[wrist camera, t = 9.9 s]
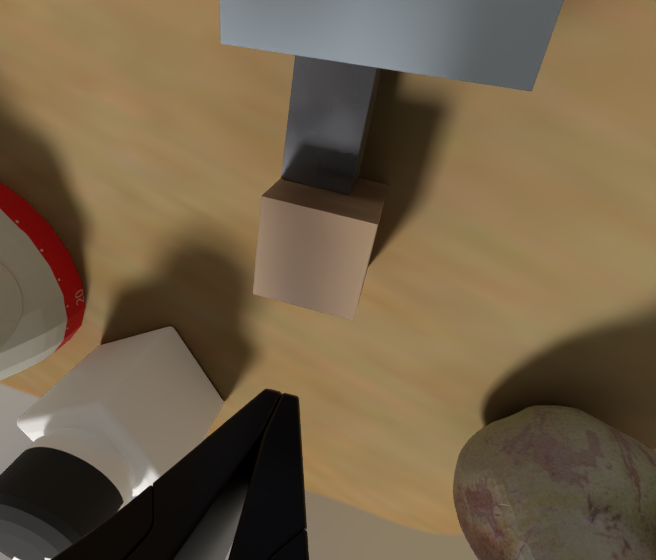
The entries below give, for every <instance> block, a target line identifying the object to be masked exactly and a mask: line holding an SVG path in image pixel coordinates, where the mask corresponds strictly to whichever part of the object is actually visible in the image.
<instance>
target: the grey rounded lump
mask: <svg viewBox="0 0 656 560" xmlns="http://www.w3.org/2000/svg"><path fill="white" fill-rule="evenodd" d="M453 497H454V504H455V508H456V512H457V516H458V520H459V523H460V526H461V528H462V531H463V533H464V535H465V537H466V539H467V541H468V543H469V544H470V546H471V548H472V550H473V551H474V553H475V555H476V556H477V558H478V560H656V453H655V452H654V451H653V450H651V449H650V448H648V447H647V446H646V445H644V444H643V443H641V442H639V441H638V440H636V439H634V438H632V437H630V436H628V435H626V434H625V433H623V432H621V431H619V430H617V429H615V428H614V427H612V426H610V425H608V424H606V423H604V422H603V421H601V420H599V419H598V418H596V417H594V416H592V415H589V414H587V413H585V412H583V411H582V410H579V409H577V408H572V407H565V406H555V405H534V406H530V407H527V408H525V409H523V410H521V411H520V412H518V413H516V414H513V415H511V416H509V417H506V418H503V419H500V420H497V421H494V422H492V423H490V424H488V425H487V426H485V427H484V428H482V429H481V430H479V431H478V432H477V433H476V434H474V435H473V436H472V437H471V438H470V439H469V440H468V442H467V443H466V444H465V446H464V447H463V448H462V450H461V452H460V454H459V457H458V461H457V465H456V469H455V475H454V483H453Z"/></svg>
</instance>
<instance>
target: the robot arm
mask: <svg viewBox="0 0 656 560" xmlns="http://www.w3.org/2000/svg"><path fill="white" fill-rule="evenodd" d="M306 529H307V523H306V508H305V490H304V474H303V457H302V440H301V424H300V407H299V398H298V396H295V395H291V394H287V393H283V394H282V393H281V392H279V391H276V390H272V389H265V390H263V391H262V392H261V393H260V394H259V395H257V396H256V397H255V398H254V399H253V400H251V401H250V402H249V403H248V404H247V405H245V406H244V407H243V408H242V409H241V410H239V411H238V412H237V413H236V414H235V415H233V416H232V417H231V418H230V419H229V420H227V421H226V422H225V423H224V424H223V425H222V426H220V427H219V428H218V429H217V430H216V431H214V432H213V433H212V434H211V435H210V436H208V437H207V438H206V439H205V440H204V441H202V442H201V443H200V444H199V445H198V446H196V447H195V448H194V449H193V450H192V451H190V452H189V453H188V454H187V455H186V456H185V457H183V458H182V459H181V460H180V461H179V462H177V463H176V464H175V465H174V466H173V467H171V468H170V469H169V470H168V471H167V472H165V473H164V474H163V475H162V476H161V477H159V478H158V479H157V480H156V481H155V482H154V483H153V486H152V485H150V486H148V487H147V488H146V489H145V490H144V491H142V492H141V493H140V494H139V495H138V496H137V497H135V498H134V499H133V500H132V501H131V502H129V503H128V504H127V505H125V506H124V507H123V508H122V509H120V510H119V511H118V512H117V513H115V514H114V515H113V516H111V517H110V518H109V519H107V520H106V521H105V522H103V523H102V524H100V525H99V526H98V527H96V528H95V529H93V530H92V531H91V532H89V533H88V534H87V535H85V536H84V537H82V538H81V539H79V540H78V541H77V542H75V543H74V544H72V545H71V546H69V547H68V548H66V549H65V550H64V551H62V552H61V553H59V554H58V555H56V556H55V557H53V558H52V559H51V560H225V558H226V555H227V553H228V551H229V549H230V547H231V544H232V542H233V545H232V548H231V552H230V555H229V559H228V560H309V553H308V537H307V531H306ZM233 540H234V541H233Z"/></svg>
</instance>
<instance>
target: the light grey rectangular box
mask: <svg viewBox="0 0 656 560" xmlns="http://www.w3.org/2000/svg"><path fill="white" fill-rule="evenodd" d="M223 404H224V402H223V400H222V398H221V397H220V395H219V394H218V392H217V391H216V389H215V388H214V386H213V385H212V383H211V382H210V381H209V379H208V378H207V376H206V375H205V373H204V372H203V370H202V369H201V367H200V366H199V364H198V363H197V361H196V360H195V358H194V357H193V355H192V354H191V352H190V351H189V349H188V348H187V346H186V345H185V343H184V342H183V340H182V339H181V337H180V336H179V335H178V333H177V332H176V330H175V329H174V328H173V327H165V328H161V329H158V330H154V331H150V332H147V333H143V334H139V335H136V336H132V337H128V338H125V339H121V340H117V341H114V342H110V343H106V344H103V345H99V346H97V347H96V348H95V349H94V350H93V351H92V352H91V353H90V354H89V355H87V356H86V357H85V358H84V359H83V360H82V361H81V362H80V363H79V364H78V365H76V366H75V367H74V368H73V369H72V370H71V371H70V372H69V373H68V374H67V375H66V376H64V377H63V378H62V379H61V380H60V381H59V382H58V383H57V384H56V385H55V386H53V387H52V388H51V389H50V390H49V391H48V392H47V393H46V394H45V395H44V396H43V397H41V398H40V399H39V400H38V401H37V402H36V403H35V404H34V405H33V406H32V407H30V408H29V409H28V410H27V411H26V412H25V413H24V414H23V415H22V416H21V417H20V418H19V419H18V420H17V425H18V427H20V429H21V430H22V431H23V432H24V433H25V434H26V435H27V436H28V437H29V438H30V439H31V440H32V441H33V443H32V444H31V445H30V446H29V447H28V448H27V449H26V450H25V451H24V452H23V453H22V454H21V455H20V456H19V457H18V458H17V459H16V460H15V461H14V462H13V463H12V464H11V465H10V466H9V467H8V468H7V469H6V470H5V471H4V472H3V473H2V474H1V475H0V552H2V553H3V554H5V555H6V556H8V557H9V558H11V559H13V560H51V559H52V558H53V557H55V556H56V555H58V554H59V553H61V552H62V551H64V550H65V549H66V548H68V547H69V546H71V545H72V544H74V543H75V542H77V541H78V540H79V539H81V538H82V537H84V536H85V535H87V534H88V533H89V532H91V531H92V530H93V529H95V528H96V527H98V526H99V525H100V524H102V523H103V522H105V521H106V520H107V519H109V518H110V517H111V516H113V515H114V514H115V513H117V512H118V511H119V510H120V509H122V508H123V507H124V506H125V505H127V504H128V503H129V502H130V500H131V498H132V496H138V495H139V494H140V493H141V492H142V491H144V490H145V489H146V488H147V487H148V486H150V485H152V486H153V483H154V482H155V481H156V480H157V479H158V478H159V477H161V476H162V475H163V474H164V473H165V472H167V471H168V470H169V469H170V468H171V467H173V466H174V465H175V464H176V463H177V462H179V461H180V460H181V459H182V458H183V457H185V456H186V455H187V454H188V453H189V452H190V451H192V450H193V449H194V448H195V447H196V446H198V445H199V444H200V443H201V442H202V441H203V440H204V438H205V436H206V435H207V433H208V431H209V429H210V428H211V426H212V424H213V422H214V421H215V419H216V417H217V415H218V414H219V412H220V410H221V408H222V407H223Z"/></svg>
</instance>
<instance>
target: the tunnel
mask: <svg viewBox="0 0 656 560" xmlns="http://www.w3.org/2000/svg"><path fill="white" fill-rule="evenodd" d="M563 1H564V0H220V26H221V44H227V45H233V46H240V47H246V48H253V49H259V50H266V51H272V52H279V53H285V54H292V55H298V56H305V57H311V58H318V59H324V60H331V61H337V62H344V63H350V64H357V65H363V66H370V67H376V68H383V69H389V70H396V71H402V72H409V73H415V74H422V75H428V76H435V77H441V78H448V79H454V80H461V81H467V82H474V83H480V84H486V85H493V86H499V87H506V88H512V89H519V90H525V91H532V89H533V86H534V83H535V80H536V78H537V75H538V72H539V69H540V66H541V63H542V60H543V58H544V55H545V52H546V49H547V46H548V43H549V40H550V38H551V35H552V32H553V29H554V26H555V23H556V21H557V18H558V15H559V12H560V9H561V6H562V3H563Z"/></svg>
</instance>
